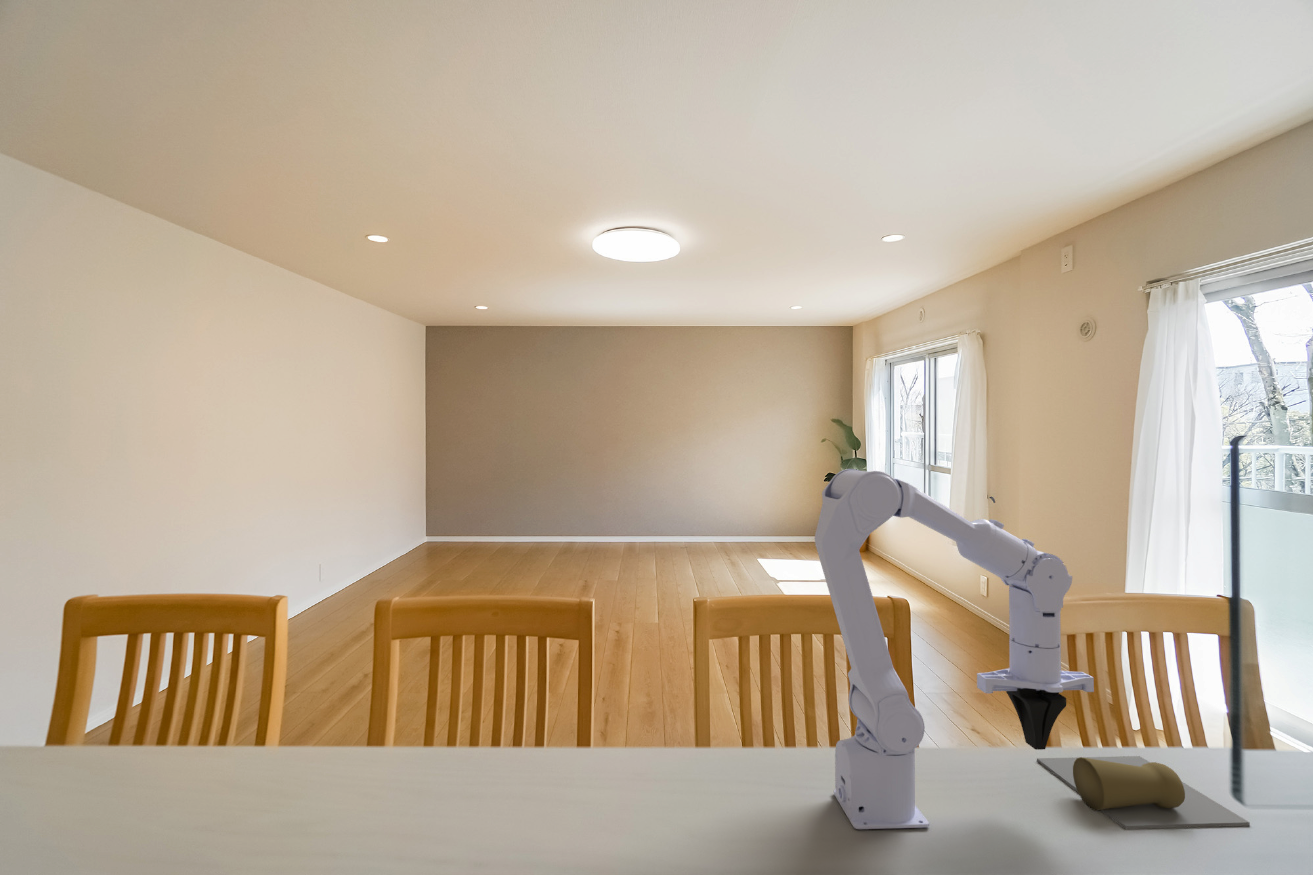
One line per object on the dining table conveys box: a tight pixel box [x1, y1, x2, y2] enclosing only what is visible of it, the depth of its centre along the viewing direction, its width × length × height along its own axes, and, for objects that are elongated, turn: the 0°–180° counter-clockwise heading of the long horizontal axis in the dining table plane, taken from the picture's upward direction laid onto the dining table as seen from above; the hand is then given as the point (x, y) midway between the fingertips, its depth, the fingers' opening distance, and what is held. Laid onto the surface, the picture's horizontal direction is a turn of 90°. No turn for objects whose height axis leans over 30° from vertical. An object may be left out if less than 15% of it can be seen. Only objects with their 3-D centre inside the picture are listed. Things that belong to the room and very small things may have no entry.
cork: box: [1073, 756, 1185, 811], centre depth 78 cm, size 6×6×11 cm
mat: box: [1036, 755, 1251, 830], centre depth 82 cm, size 16×16×1 cm
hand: (1035, 745), depth 78 cm, fingers closed
